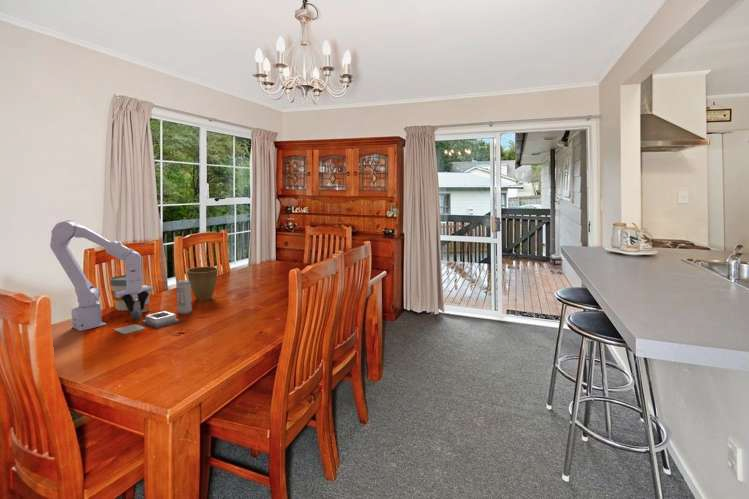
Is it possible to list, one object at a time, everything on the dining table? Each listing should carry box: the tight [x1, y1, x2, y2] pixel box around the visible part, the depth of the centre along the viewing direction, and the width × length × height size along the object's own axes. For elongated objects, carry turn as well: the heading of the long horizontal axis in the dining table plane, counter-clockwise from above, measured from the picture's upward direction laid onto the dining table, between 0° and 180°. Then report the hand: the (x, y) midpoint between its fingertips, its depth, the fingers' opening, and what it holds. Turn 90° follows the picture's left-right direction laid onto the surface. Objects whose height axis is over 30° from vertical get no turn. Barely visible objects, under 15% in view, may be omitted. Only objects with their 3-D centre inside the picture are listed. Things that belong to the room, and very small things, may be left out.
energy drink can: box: [175, 279, 193, 315], centre depth 179 cm, size 6×6×15 cm
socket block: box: [141, 310, 181, 329], centre depth 166 cm, size 10×12×3 cm
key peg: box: [130, 298, 143, 320], centre depth 167 cm, size 4×4×8 cm
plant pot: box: [186, 266, 219, 302], centre depth 203 cm, size 15×15×16 cm
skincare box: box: [132, 284, 151, 313], centre depth 180 cm, size 6×4×12 cm
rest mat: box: [114, 323, 146, 335], centre depth 157 cm, size 8×8×1 cm
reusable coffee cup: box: [109, 274, 132, 312], centre depth 184 cm, size 13×12×15 cm
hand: (136, 310), depth 167 cm, fingers closed on key peg, 4 cm apart
